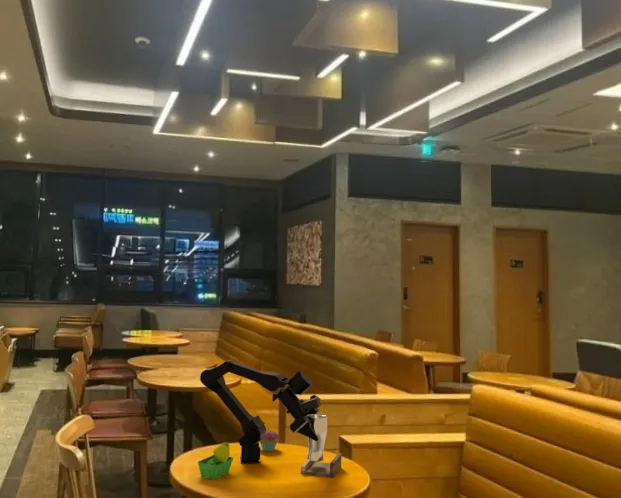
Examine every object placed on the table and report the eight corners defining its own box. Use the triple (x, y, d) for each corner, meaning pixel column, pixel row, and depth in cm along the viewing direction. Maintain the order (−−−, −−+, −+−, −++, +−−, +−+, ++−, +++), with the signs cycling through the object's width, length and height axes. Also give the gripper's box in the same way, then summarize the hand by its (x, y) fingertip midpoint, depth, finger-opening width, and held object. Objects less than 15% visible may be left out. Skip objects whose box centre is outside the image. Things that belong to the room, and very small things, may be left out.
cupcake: (278, 453, 239) (279, 421, 240) (255, 452, 239) (257, 420, 240) (279, 446, 248) (281, 416, 248) (258, 445, 248) (259, 415, 248)
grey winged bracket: (300, 473, 217) (301, 459, 217) (310, 463, 228) (311, 449, 229) (333, 478, 214) (333, 463, 214) (341, 467, 225) (341, 453, 225)
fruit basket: (215, 468, 219) (216, 435, 219) (236, 473, 215) (238, 439, 215) (195, 477, 209) (197, 443, 209) (217, 482, 205) (219, 447, 205)
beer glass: (327, 462, 219) (329, 418, 220) (307, 462, 218) (310, 418, 218) (322, 456, 226) (325, 414, 226) (303, 456, 225) (306, 413, 225)
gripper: (300, 393, 215) (330, 430, 211) (315, 384, 232) (342, 417, 229) (277, 414, 216) (306, 450, 213) (293, 403, 234) (320, 436, 231)
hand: (320, 438), depth 222 cm, fingers closed on beer glass, 6 cm apart
